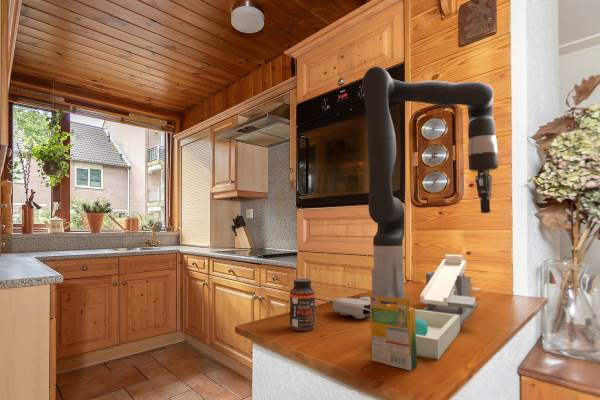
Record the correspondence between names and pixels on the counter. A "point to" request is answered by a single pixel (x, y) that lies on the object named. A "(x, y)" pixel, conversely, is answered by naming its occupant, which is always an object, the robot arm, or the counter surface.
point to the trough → (447, 285)
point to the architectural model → (467, 287)
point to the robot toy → (353, 306)
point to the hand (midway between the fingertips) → (485, 212)
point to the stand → (462, 312)
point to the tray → (436, 333)
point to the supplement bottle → (302, 306)
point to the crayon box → (393, 333)
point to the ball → (421, 327)
